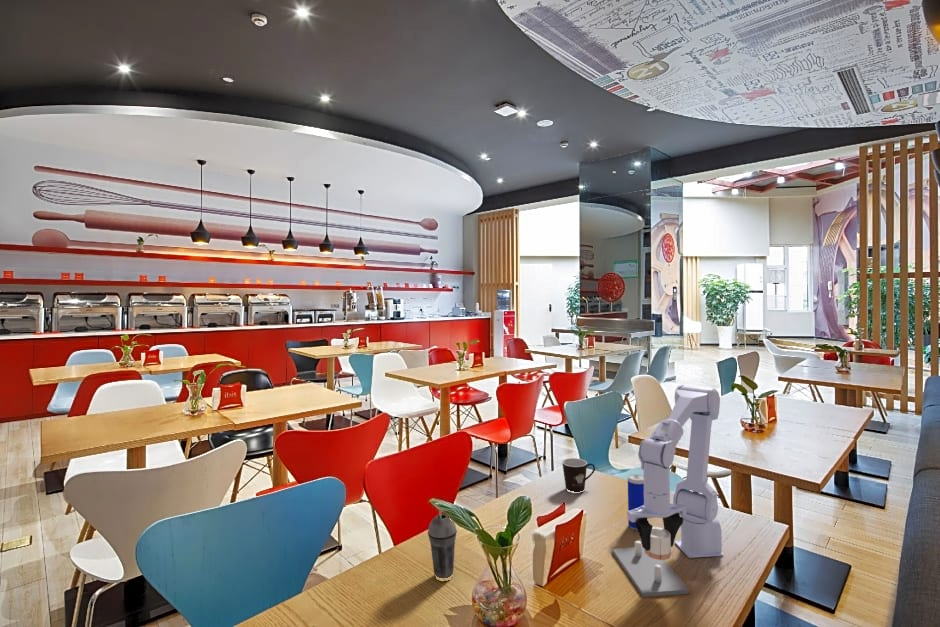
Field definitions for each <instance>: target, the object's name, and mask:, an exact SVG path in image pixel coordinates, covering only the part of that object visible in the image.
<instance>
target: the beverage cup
mask: <svg viewBox="0 0 940 627" xmlns="http://www.w3.org/2000/svg"><path fill="white" fill-rule="evenodd" d="M438 501H440V502H441V499H438ZM438 512H439V514H438V515H436V516H435V517H434V518H432V520H431V521H430V522H429V525H428V529H427V535H428V539H429V543H430V548H431V549H430V550H431V559H432V560H431V561H432V566H433V575H434V576H435V575H436V576H437V577H439V578H448V577H450V576H451V575H452V574H454V564H455V549H456V546H455V545H456V540H457V538H456V537H457V533H458V531H457V527H456V523H455V521H454V520H453V521H454V522H453V521H451V520H450V519H449V518H448V517H447V516H448V515H447V514H443V513H442V510H441V511H440V510H439V509H438ZM446 515H447V516H446Z"/></svg>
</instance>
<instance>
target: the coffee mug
mask: <svg viewBox="0 0 940 627" xmlns="http://www.w3.org/2000/svg"><path fill="white" fill-rule="evenodd" d="M561 463H562V470H563V476H564V483H565V484H564V485H565V489H566V488H567V489H568V490H570V491H574V492H580V491H583V490H584V489H585V488H586V481H587V480H588V479H589V478H591V476H592V475H593V474H594V473H595V471H596V466H595V465H594V464H593V463H588V461H586V459H585V460H584V459H581V458H577V457H576V458H575V457H573V458H572V457H571V458H564V459H563V460H562V462H561ZM589 466H592V471H591V473H589V475H587V468H588V467H589ZM584 491H585V490H584Z"/></svg>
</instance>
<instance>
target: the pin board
mask: <svg viewBox="0 0 940 627" xmlns="http://www.w3.org/2000/svg"><path fill="white" fill-rule="evenodd" d="M611 552H612V554H613V555H614V557H615V558H616V560H617V561H618V563H619V565H621V567H622V569H623V570H624V572H625V573H626V574H627V577H629V579H630V580H631V582H632V583H633V584H634V585H633V586H635V588H636V589H637V591H638V592H639V593H640V595H641V596H642V598H647V597H648V598H651V597H652V598H653V597H660V596H661V597H662V596H663V597H664V596H674V595H686V594H687V595H688V594H690V588H689V587H688V586H687V585H686V584H685V583H684V581H683V580H682V579H681V578H680V577H679V576H678V575H677V573H676V572H675V570H673V569H672V568H671V566H670V565H669V564H668V563H667V562H666V561H665V560H657V559H653V558H651V557H649V556H648V555H647V554H646V553H645V552H644V548H643V547H642V543H641V540H635V541H634V546H633V547H622V548H621V547H620V548H612V549H611Z"/></svg>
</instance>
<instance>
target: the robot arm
mask: <svg viewBox="0 0 940 627" xmlns="http://www.w3.org/2000/svg"><path fill="white" fill-rule="evenodd" d="M674 404H675V405H674V406H673V408H672V410H671V412H670V414H669V416H668V418H664V419H662V420H661V421H659V424H658V425H657V427H656V428H655V430H654V431H653V433H652V434H651V436H650V437H648V438H645V439H643V440H642V441H640V444H639V447H638V452H637V455H638V459H639V461H640V468H641V470H643V476H644V505H643V506H641V507H638V508H636V509H633V510H629V511H628V510H626V511H627V512H626V513H627V514H626V515H627V518H626V519H627V520H628V519H629V520H630V521H631V522H634V524H635V526H636V528H637V530H636V531H637V533H638V536H639V538H640V542H641V545H642V547H643V548H644V549H645V550H647V551H649V550H650V536H651V531H652V527H654V526H653V525H652V524H650V522H649V520H648V519H653V518H655V519H662V523H663V528H664V529H666V530H667V531H668V532H670V534H671V548H673V546H674V544H675V545H676V546H677V547H678V548H679V549H680V550H681V551H682V552H683V553H684V554H685V555H686V556H687V557H688V558H690V559H695V558H708V557H709V558H710V557H722V556H724V552H722V549H723V548H722V547H723V545H722V544H723V542H722V541H723V540H722V539H723V538H722V535H723V534H722V527H721V524H720V521H719V520H718V518H717V516H718V513H719V512H718V509H719V504H718V492H717V491H716V490H715V489H714V488H713V487H712V486H711V485H710V483H708V481H707V480H708V479H707V478H708V470H709V454H710V444H711V432H712V424H713V421H715V420H718V419H719V415H720V406H721V405H720V404H721V397H720V393H719V391H718V390H717V388H715V387H712V388H710V387H709V388H707V387H702V386H701V387H700V386H695V385H694V386H693V385H685V384H679V385H677V387H676V388H675V391H674ZM689 419H690V420H691V424H690V426H691V427H690V435H689V436H690V437H689V447H688V459H687V467H686V468H687V469H686V478H685V479H683V480H681V481H679V482H677V484H676V486H675V491H674V493H673V498H672V503H671V499H670V498H671V493H670V492H671V491H670V490H671V489H670V486H671V485H670V484H671V483H670V481H671V478H670V476H671V475H670V467H671V466H672V464H673V462H674V458H675V454H676V451H677V450H676V446H677V445H678V443H679V442H680V440H681V438H682V436H683V435H684V428H683V426H684V425H685V424H686V422H687V421H688V420H689ZM679 529H680V540H675V539H676V536H677V534H678V531H679Z"/></svg>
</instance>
